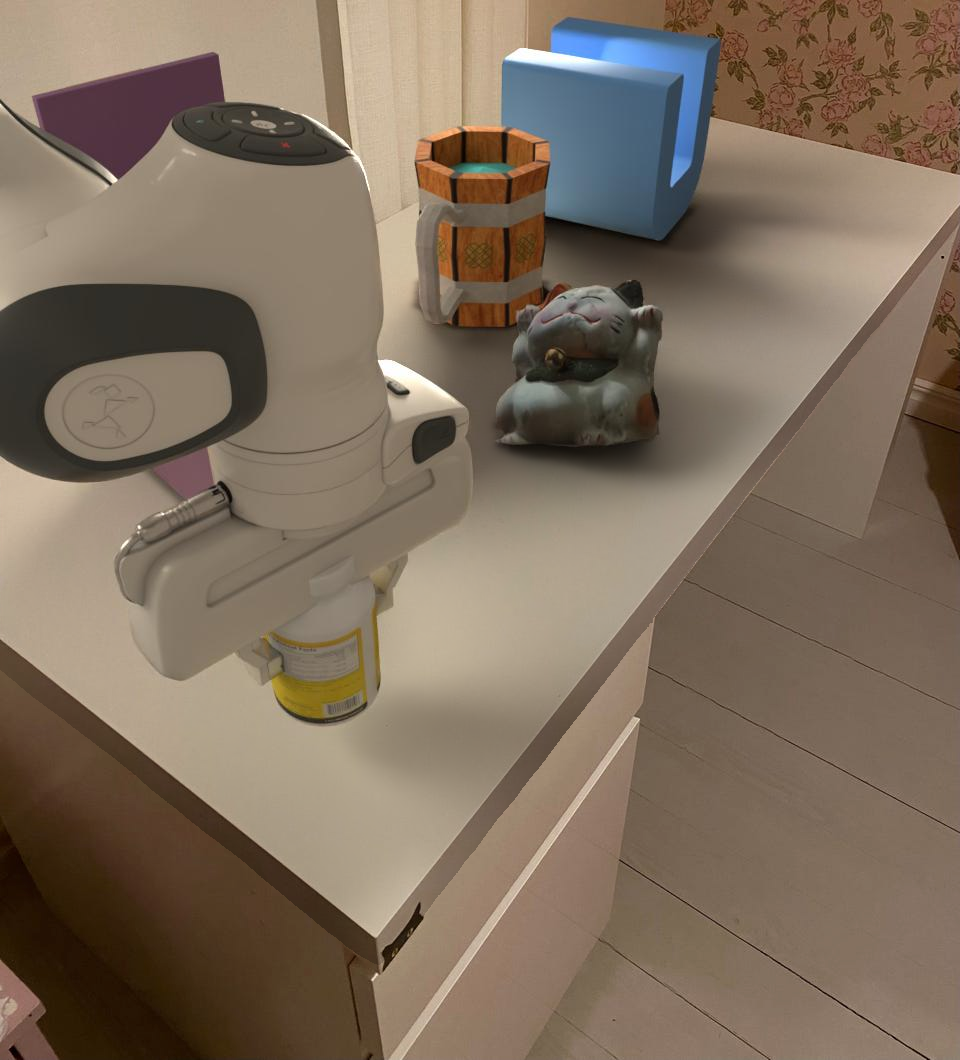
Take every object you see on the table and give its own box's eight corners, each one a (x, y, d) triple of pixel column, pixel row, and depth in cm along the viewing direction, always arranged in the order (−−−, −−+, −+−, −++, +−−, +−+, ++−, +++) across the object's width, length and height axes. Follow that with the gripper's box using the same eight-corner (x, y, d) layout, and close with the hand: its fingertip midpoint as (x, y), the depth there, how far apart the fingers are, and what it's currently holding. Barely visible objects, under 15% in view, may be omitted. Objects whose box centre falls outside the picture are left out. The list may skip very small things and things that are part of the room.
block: (561, 168, 132) (570, 15, 120) (698, 195, 126) (722, 37, 114) (499, 224, 120) (502, 60, 108) (647, 257, 114) (667, 87, 102)
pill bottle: (337, 634, 67) (323, 494, 59) (403, 692, 64) (396, 551, 56) (252, 687, 64) (225, 546, 56) (317, 751, 60) (297, 610, 52)
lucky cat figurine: (463, 441, 88) (468, 272, 85) (546, 431, 98) (554, 278, 95) (613, 463, 79) (624, 274, 76) (690, 449, 88) (703, 280, 85)
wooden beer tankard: (450, 255, 114) (448, 116, 104) (566, 279, 110) (575, 137, 100) (364, 341, 101) (352, 191, 91) (492, 372, 97) (494, 219, 87)
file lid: (219, 54, 75) (181, 35, 78) (36, 99, 68) (2, 77, 71) (252, 285, 88) (219, 262, 91) (101, 343, 81) (69, 316, 84)
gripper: (141, 577, 44) (193, 772, 53) (493, 399, 55) (486, 587, 64) (72, 505, 48) (133, 699, 57) (416, 351, 58) (420, 536, 68)
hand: (322, 639), depth 61 cm, fingers closed on pill bottle, 6 cm apart
